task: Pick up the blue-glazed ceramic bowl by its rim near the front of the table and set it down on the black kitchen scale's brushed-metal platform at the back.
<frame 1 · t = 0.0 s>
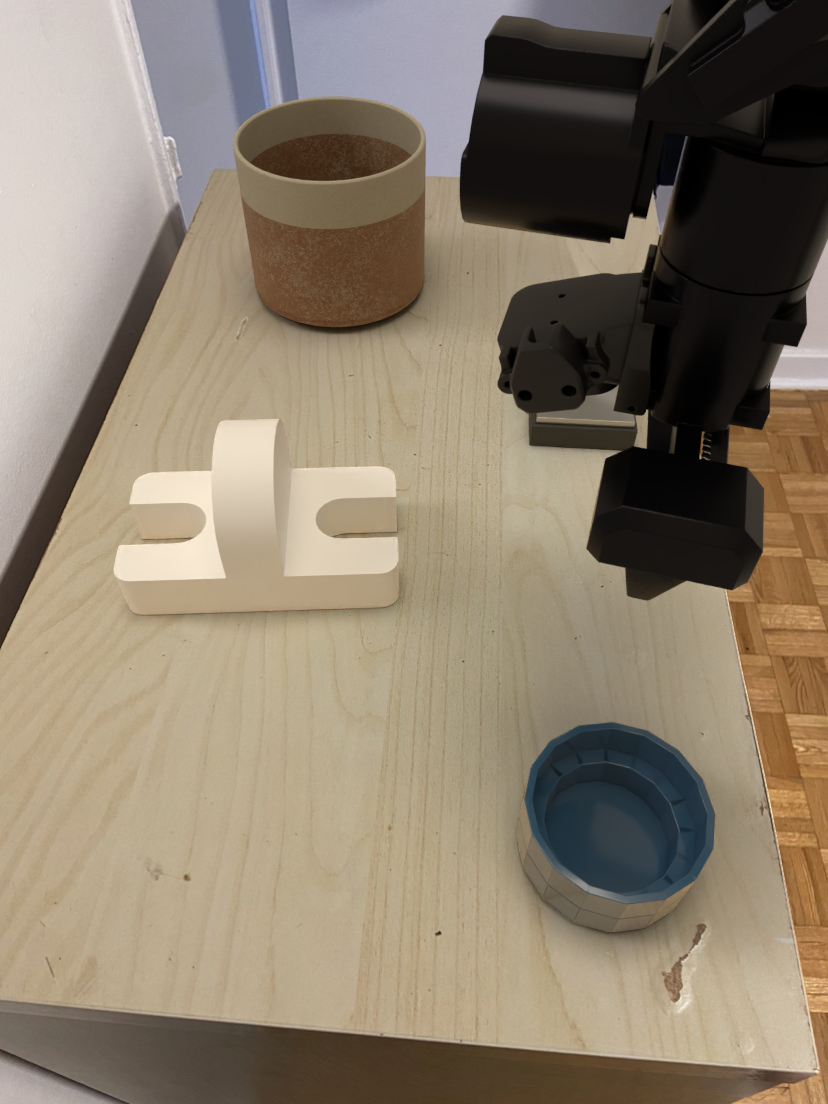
hand: (647, 527, 44), 12 cm above the table, tool pointing down, fingers open, 9 cm apart
scale: (578, 414, 68), on the table
bowl: (601, 844, 45), on the table
slotted base with upright: (268, 556, 59), on the table
planter: (340, 285, 80), on the table
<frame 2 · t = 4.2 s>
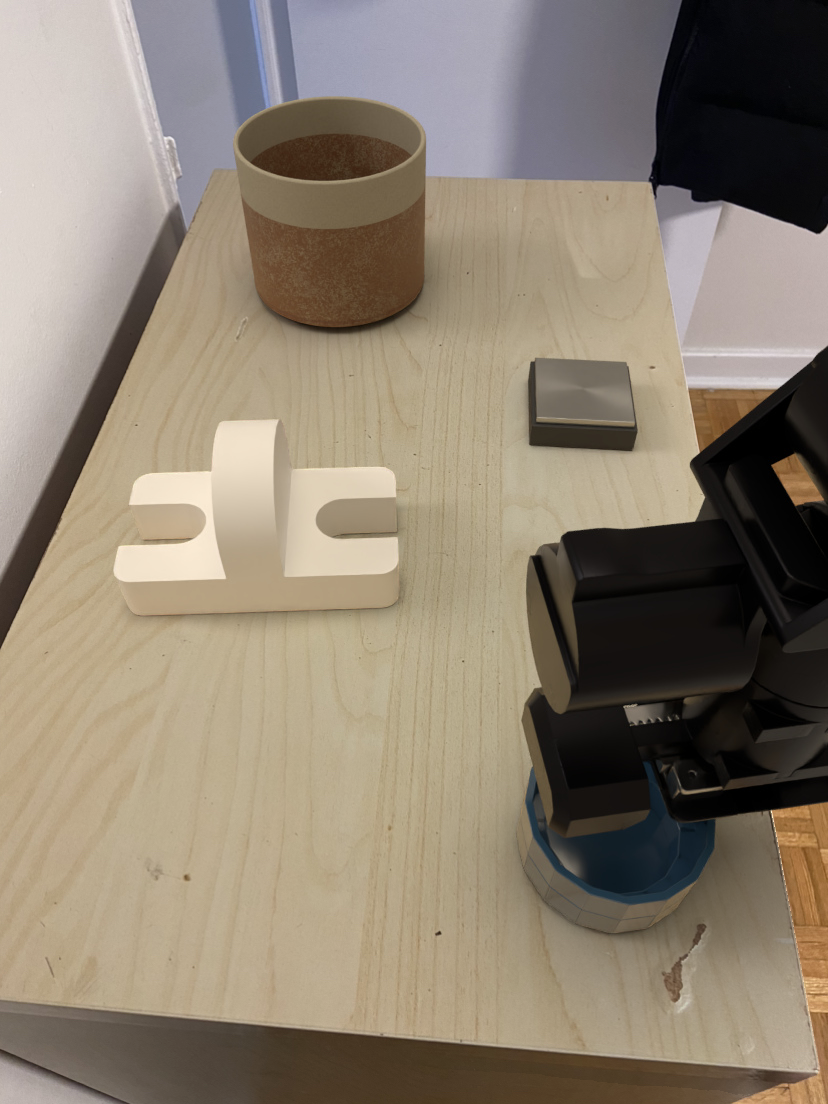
hand: (694, 810, 43), 3 cm above the table, tool pointing down, fingers closed on bowl
bowl: (602, 844, 45), on the table, touching gripper
everything else where it was.
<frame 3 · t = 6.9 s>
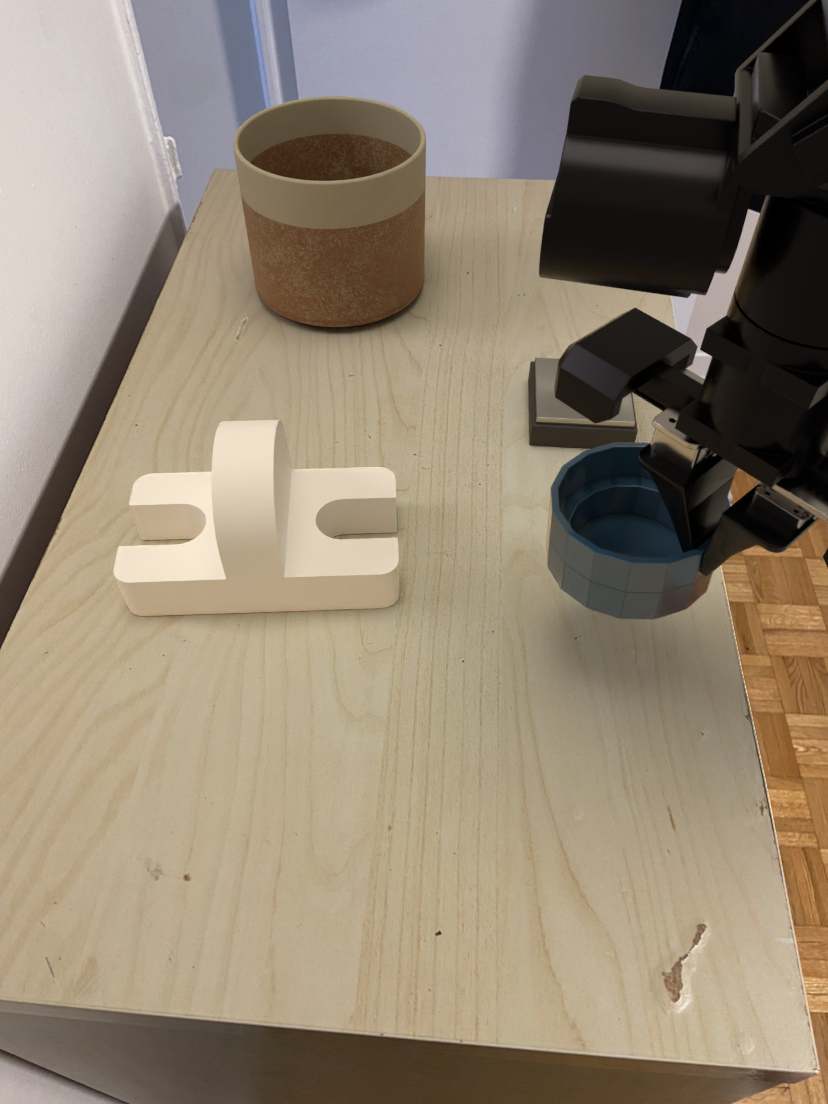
hand: (702, 565, 44), 11 cm above the table, tool pointing down, fingers closed on bowl
bowl: (627, 561, 48), point 8 cm above the table, touching gripper
everything else where it was.
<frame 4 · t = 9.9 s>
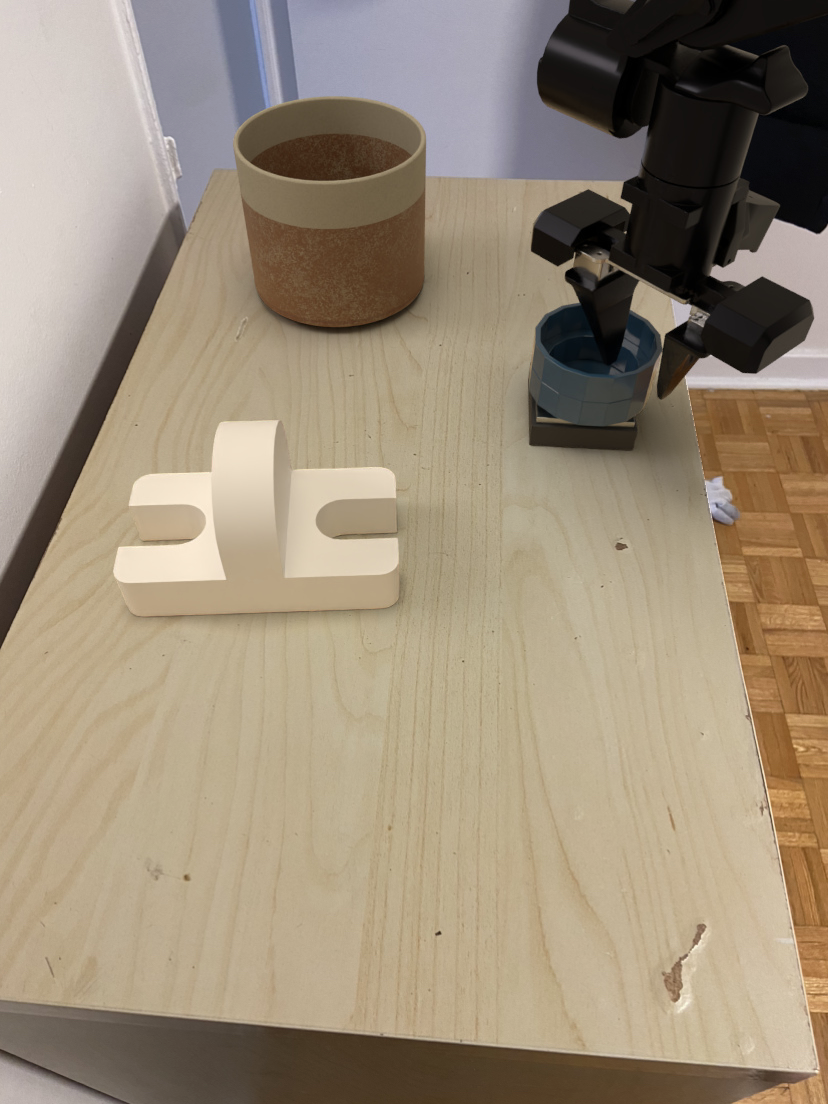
hand: (636, 379, 61), 6 cm above the table, tool pointing down, fingers open, 5 cm apart
bowl: (587, 391, 66), point 3 cm above the table, touching scale
everything else where it was.
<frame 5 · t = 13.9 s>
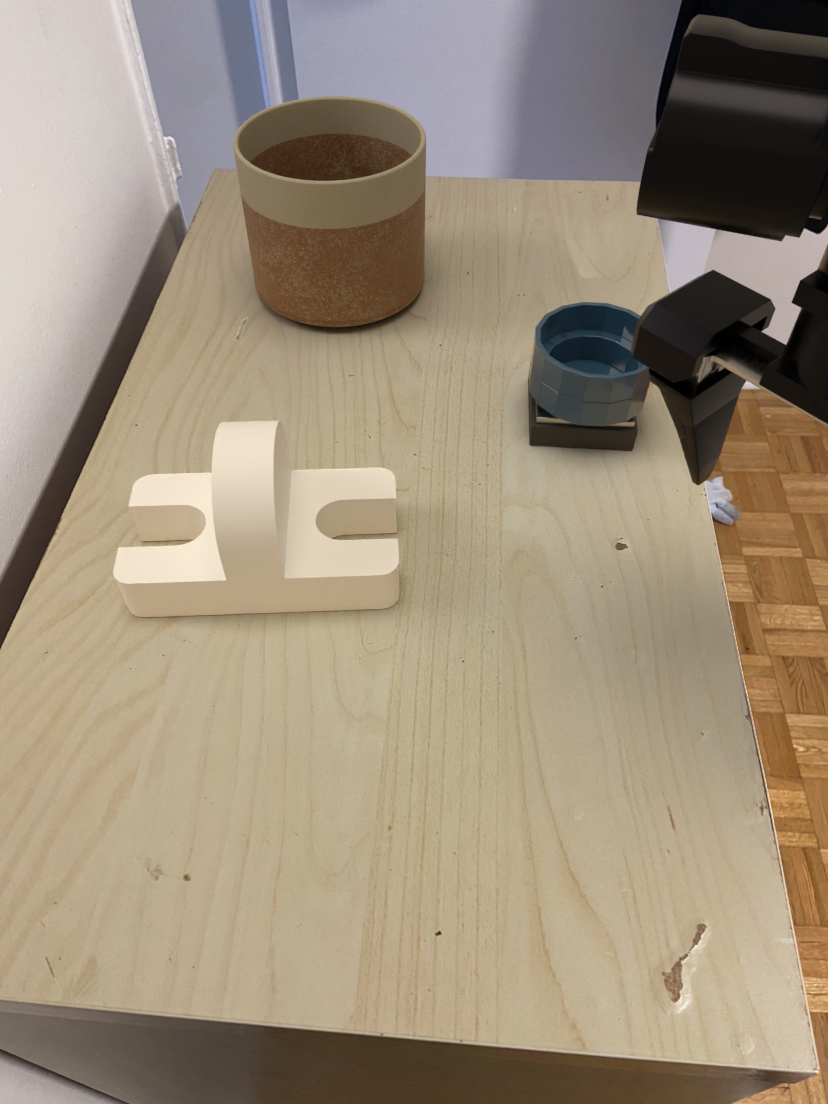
hand: (772, 528, 44), 12 cm above the table, tool pointing down, fingers open, 9 cm apart
nothing on the table moved.
at the end: bowl 0.5 cm off-centre on the scale, point 2.6 cm above the scale's base; bowl tilted 0°; the gripper is holding nothing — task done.
